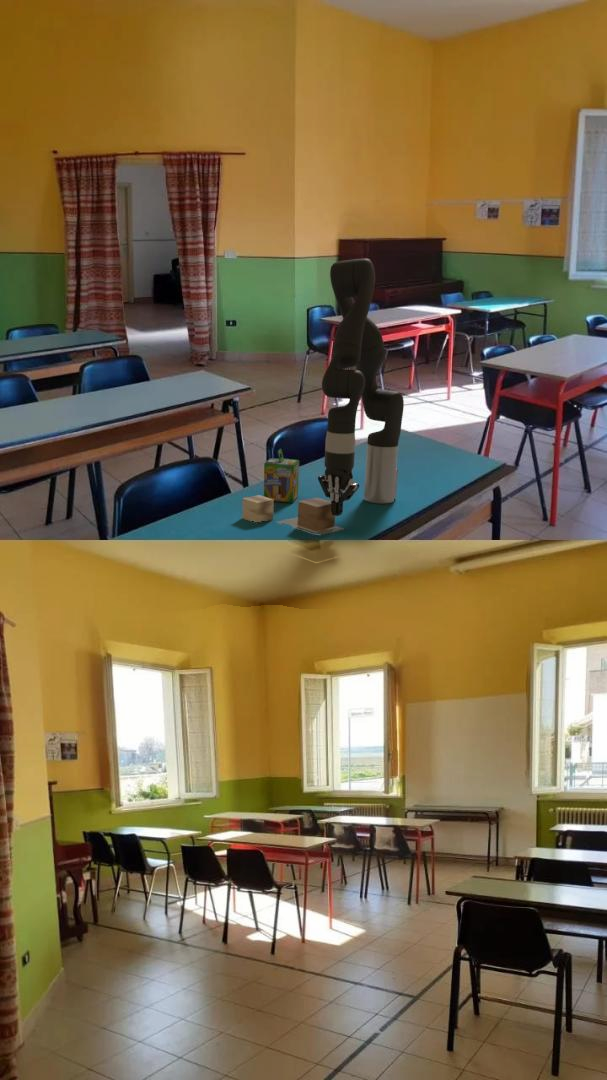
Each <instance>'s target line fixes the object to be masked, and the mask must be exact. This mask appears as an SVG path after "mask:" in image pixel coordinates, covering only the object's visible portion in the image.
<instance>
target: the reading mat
mask: <svg viewBox="0 0 607 1080" xmlns="http://www.w3.org/2000/svg"><path fill="white" fill-rule="evenodd" d="M276 522H277V523H276V524H278V523H279V524H278V525H281V524H282V523H285V524H289V525H291V526H292V527H293V528H292V529H294V528H295V529H294V530H296V528H298V529H299V530H305V531H307V532H310V533H313V534H314V533H315V532H312V531H309V530H306V529H303V528H300V527H297V524H298V516H296V517H290V518H287V519H283V520H282V519H281V520H278V521H276ZM299 530H298V531H299ZM341 530H345V528H343V527H340V526H336V525H335V527H334V528H333V529H329V530H325V531H321V532H317V533H315V534H323V535H326V534H330V533H334V532H338V531H341Z"/></svg>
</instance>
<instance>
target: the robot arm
mask: <svg viewBox="0 0 607 1080" xmlns="http://www.w3.org/2000/svg"><path fill="white" fill-rule="evenodd" d="M329 276H330V277H329V279H330V284H331V288H332V291H333V293H334V297H335V300H336V302H337V304H338V308H339V310H340V314H341V317H342V320H341V321H340V323H339V324H338V326H337V329H336V331H335V334H334V339H333V340H334V341H333V349H332V355H331V358H330V362H329V364H328V365H327V368H326V370H325V372H324V374H323V377H322V381H321V389H322V392H323V394H324V395H325V396H326V397H327V398H334V399H337V398H338V399H349V401H348V403H346V404H345V405H341V406H335V407H331V408H330V409H329V410H328V412H327V426H326V428H327V429H326V430H327V431H326V436H325V447H324V448H325V450H324V467H325V470H324V473H323V474H322V475H320V476H318V477H317V481H318V483H319V485H320V487H321V489H322V491H323V493H324V496H325V497H326V498H329V499H330V500H329V501H331V512H332V515H335V517H339V516H341V515H342V514H343V511H344V502H346V501H349V500H351V498H352V497H353V496H354V494H355V493H356V492H357V491H358V489H359V488H360V484H359V483H358V482H357V483H356V482H355V481H354V477H353V472H352V471H353V468H354V467H355V453H356V451H355V450H356V433H355V432H356V420H357V419H356V418H357V413H358V407H359V404H360V401H362V406H363V411H364V414H365V416H366V417H367V418H368V419H369V420H371V421H377V422H383V423H384V426H383V428H382V429H381V430H378V431H374V432H371V433H369V434H368V435H367V444H366V461H365V462H366V463H365V473H364V474H365V475H364V476H365V477H364V487H363V488H364V490H363V500H364V501H366V502H369V503H371V504H372V503H374V504H391V503H393V502H394V501H395V500H394V499H397V491H398V490H397V488H398V475H399V469H398V468H397V465H398V454H399V453H398V452H399V441H400V437H401V431H402V423H403V415H404V407H405V406H404V404H405V402H404V397H403V394H402V393H401V392H399V391H396V390H395V391H394V390H389V389H381V388H379V386H378V383H377V375H378V373H379V372H380V371H379V370H380V369H381V367H382V365H383V363H384V361H385V357H386V348H385V347H386V346H385V343H384V339H383V335H382V332H381V330H380V328H379V327H378V326H377V324H376V323H375V322H374V321H373V320H372V319H371V318H369V317H368V315H369V311H370V307H371V304H372V300H373V299H372V298H373V295H374V292H375V286H376V272H375V267H374V264H373V262H372V260H371V259H369V258H366V257H365V258H354V259H349V260H348V259H347V260H341V261H336V262H334V263H333V264H332V265H331V266H330V269H329ZM354 297H355V298H356V299H355V300H354ZM352 367H355V369H349V368H352ZM361 399H362V400H361Z"/></svg>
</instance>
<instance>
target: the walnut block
mask: <svg viewBox="0 0 607 1080" xmlns="http://www.w3.org/2000/svg"><path fill="white" fill-rule="evenodd" d="M297 502H298V503H297V517H298V524H297V527H300V528H303V529H306V530H309V531H312V532H315V533H317V532H321V531H325V530H329V529H333V528H334V527H335V526H336V525H335V524H336V523H335V522H336V516H335V515H332V512H331V500H328V499H327V500H326V499H324V498H320V497H312V498H308V499H303V500H299V501H297Z"/></svg>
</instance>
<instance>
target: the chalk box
mask: <svg viewBox="0 0 607 1080" xmlns="http://www.w3.org/2000/svg"><path fill="white" fill-rule="evenodd" d="M277 457H278V458H276V457H271V458H269V459H268V460H266V461H265V462H264V465H263V474H264V475H263V479H264V480H263V481H264V482H263V496H264V497H267V498H270V499H274V502H282V503H294V502H295V501H296V500H297V499H298V497H299V486H300V485H299V481H300V479H299V477H300V460H299V459H290V458H284V455H283V450H282V448H279V449H278V451H277Z"/></svg>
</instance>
